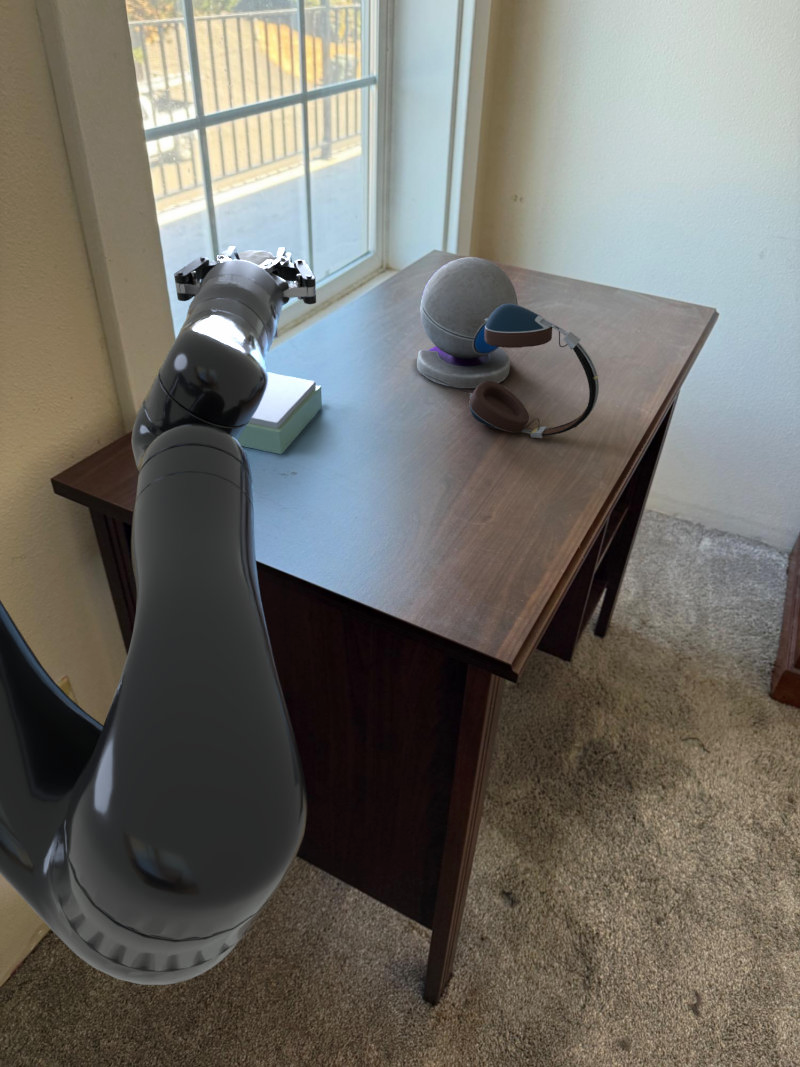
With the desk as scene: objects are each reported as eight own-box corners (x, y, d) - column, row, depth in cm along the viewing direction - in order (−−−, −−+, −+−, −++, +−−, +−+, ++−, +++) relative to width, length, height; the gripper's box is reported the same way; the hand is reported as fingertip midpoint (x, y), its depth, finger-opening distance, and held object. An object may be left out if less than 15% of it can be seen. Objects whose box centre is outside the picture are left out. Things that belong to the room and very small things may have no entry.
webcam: (473, 341, 112) (483, 239, 103) (528, 375, 104) (545, 267, 94) (400, 359, 106) (404, 252, 97) (452, 397, 98) (463, 284, 89)
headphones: (405, 404, 94) (569, 468, 87) (422, 288, 84) (609, 350, 78) (427, 385, 98) (585, 444, 92) (446, 272, 88) (624, 330, 82)
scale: (185, 434, 88) (181, 405, 86) (234, 390, 97) (231, 363, 95) (281, 454, 85) (279, 425, 83) (322, 407, 94) (321, 380, 92)
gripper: (160, 355, 68) (196, 289, 82) (316, 358, 69) (326, 292, 82) (145, 273, 64) (186, 217, 77) (313, 277, 64) (324, 221, 78)
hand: (258, 256), depth 80 cm, fingers closed on milkshake, 4 cm apart
